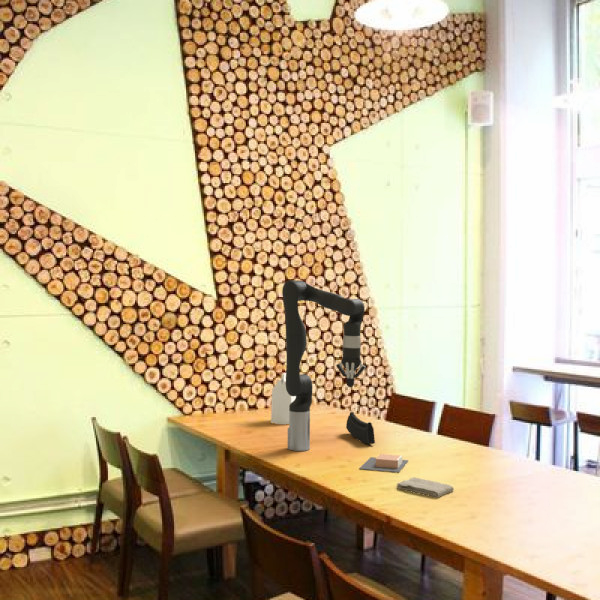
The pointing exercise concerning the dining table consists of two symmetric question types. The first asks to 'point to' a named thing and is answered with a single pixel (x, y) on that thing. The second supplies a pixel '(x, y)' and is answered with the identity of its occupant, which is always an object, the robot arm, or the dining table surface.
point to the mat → (371, 465)
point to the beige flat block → (389, 461)
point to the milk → (281, 402)
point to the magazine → (360, 429)
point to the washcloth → (425, 487)
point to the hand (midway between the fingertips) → (350, 386)
